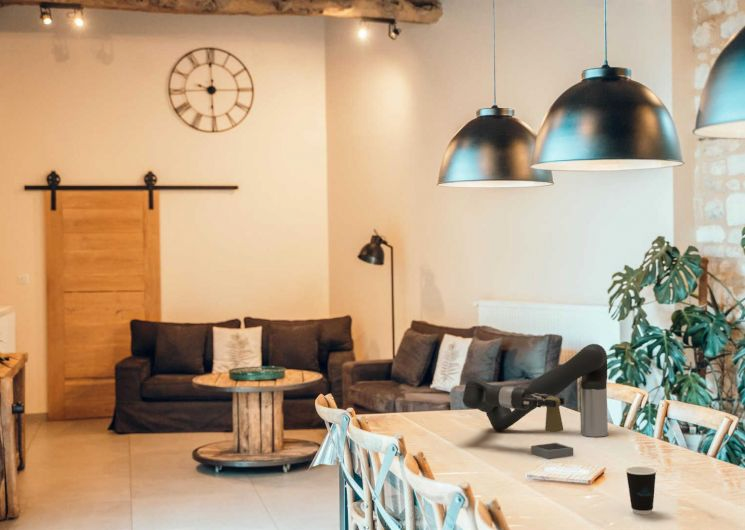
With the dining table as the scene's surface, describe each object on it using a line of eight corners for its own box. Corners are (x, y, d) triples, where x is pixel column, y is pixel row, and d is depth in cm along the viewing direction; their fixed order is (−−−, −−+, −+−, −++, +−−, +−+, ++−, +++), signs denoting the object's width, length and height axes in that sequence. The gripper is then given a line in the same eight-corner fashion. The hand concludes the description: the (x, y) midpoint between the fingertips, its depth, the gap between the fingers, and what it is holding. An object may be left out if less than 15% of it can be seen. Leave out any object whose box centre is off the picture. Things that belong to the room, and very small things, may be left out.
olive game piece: (541, 430, 320) (539, 398, 320) (551, 426, 325) (549, 394, 324) (557, 432, 316) (555, 400, 315) (566, 428, 321) (564, 396, 320)
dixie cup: (644, 517, 243) (643, 474, 243) (620, 511, 250) (618, 469, 249) (664, 512, 248) (663, 469, 248) (640, 506, 254) (638, 464, 254)
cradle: (531, 453, 323) (531, 445, 323) (556, 450, 327) (556, 442, 327) (547, 459, 314) (547, 451, 314) (573, 455, 318) (573, 447, 318)
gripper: (525, 405, 334) (569, 410, 324) (504, 411, 323) (550, 417, 312) (525, 384, 334) (569, 388, 324) (504, 389, 323) (550, 394, 312)
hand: (560, 402), depth 318 cm, fingers closed on olive game piece, 5 cm apart
